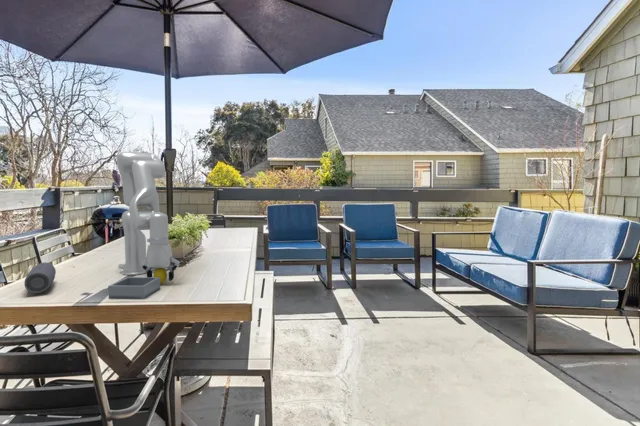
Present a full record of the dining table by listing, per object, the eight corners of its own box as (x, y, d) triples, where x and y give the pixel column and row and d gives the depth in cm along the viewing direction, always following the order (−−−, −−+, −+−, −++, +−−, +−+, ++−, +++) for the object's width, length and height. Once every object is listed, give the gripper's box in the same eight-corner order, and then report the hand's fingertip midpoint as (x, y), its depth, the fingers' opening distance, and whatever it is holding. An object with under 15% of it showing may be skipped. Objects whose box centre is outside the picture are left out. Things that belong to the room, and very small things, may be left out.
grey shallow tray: (108, 298, 146) (108, 286, 146) (127, 288, 160) (127, 277, 160) (144, 299, 146) (143, 286, 146) (160, 288, 160) (159, 277, 160)
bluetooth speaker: (31, 284, 166) (30, 262, 166) (57, 281, 171) (56, 260, 170) (23, 298, 147) (21, 272, 146) (52, 294, 152) (50, 270, 151)
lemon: (156, 283, 170) (155, 265, 169) (168, 282, 170) (168, 265, 169) (151, 286, 164) (151, 268, 164) (164, 286, 165) (164, 268, 164)
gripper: (135, 242, 162) (136, 282, 163) (175, 242, 162) (176, 282, 163) (143, 240, 170) (145, 278, 171) (182, 240, 169) (183, 278, 170)
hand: (160, 280), depth 167 cm, fingers open, 9 cm apart
